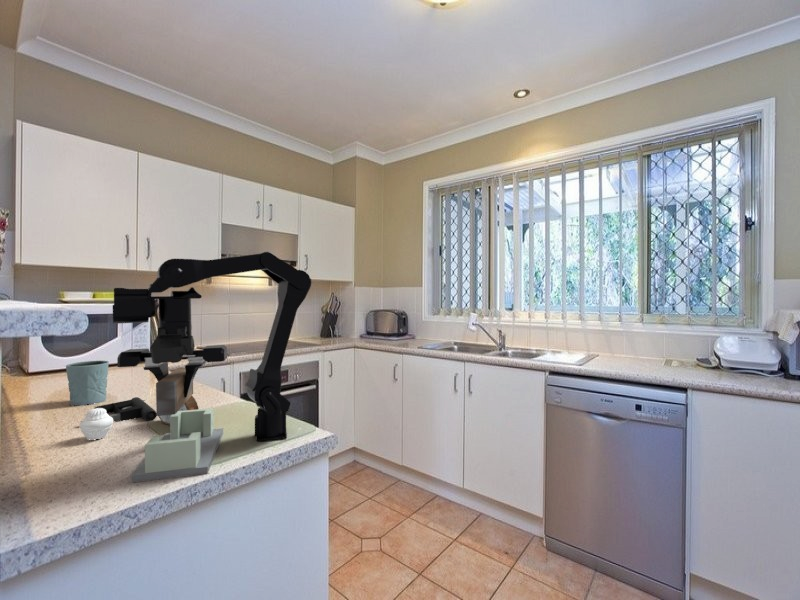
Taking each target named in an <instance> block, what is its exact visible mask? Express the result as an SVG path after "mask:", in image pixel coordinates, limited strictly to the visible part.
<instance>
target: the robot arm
mask: <svg viewBox="0 0 800 600" xmlns="http://www.w3.org/2000/svg"><path fill="white" fill-rule="evenodd" d="M255 271H261V272H263V273H264V274H265V275H266V276H268V277H269V278H270V279H271V280H272V281H273V282H274V283H276V284H277V285H278V288H277V301H278V304H277V305H278V306H277V309H276V313H275V316H274V319H273V323H272V326H271V330H270V333H269V337H268V340H267V343H266V347H265V350H264V353H263V357H262V358H261V359H262V360H261V362H260V364H259V366H258V367H257V369H253V368H249V369H250V370H249V374H248V379H247V382H246V383H245V384H244V386H245V387H247V388H246V393H247V397H248V398H249V399H250V400H252V401H253V402H254V403H255V405H256V406H257V414H256V415H255V416H254V436H255V437H256V442H263V441H272V440H282V439H287V436H288V435H287V434H288V433H287V412H289V410H290V406H291V402H290V400H288V399H287V398H286V397H284V395H282V394H281V390H282V365H283V362H284V361H283V360H284V358H285V354H286V350H287V346H288V343H289V340H290V336H291V333H292V329H293V326H294V322H295V319H296V316H297V311H298V309H299V308H300V306H301V305H302V304H303V302H304V301H305V300H306V298H307V295H308V294H309V291H310V290H311V288H312V279H311V276H310V274H308V272H306V271H305V270H303V269H297V268H296V267H294V265H291V264H290V263H288V262H286V261H284V260H282V259H281V258H279V257H277V256H276V255H275V254H274V253H272V252H270V251H264V252H260V253H256V254H255V253H254V254H246V255H240V256H230V257H223V258H215V259H193V258H170V259H168V260H166V261H164V262H162V264H161V265H159V267H158V269H157V272H156V274H157V275H156V276H157V278H156V279H155V280H154V281H153V283H150V284H149V285H148V288H125V287H114V288H113V304H112V323H113V324H114V325H116V324H117V325H118V324H139V323H149V318H150V319H151V318H155V317H156V300H158V327H157V332H156V333H157V335H156V338H155V339H154V340H153V342H152V343H151V345H150V348H135V349H134V348H131V349H127V350H125V351H121V352H120V353H119V354H118V356H117V365H116V366H117V368H132V367H133V368H135V367H137V366H138V365H139V364H140V363H144V367H143V368H142V369H143V370H144V371H149V372H150V373H151V374H153V375H154V377H155V379H156V380H157V382H159V381H160V380H161V379H163V378H164V377H166V376H167V375H168V374H170V372H169V363H172V364H176V363H177V364H178V363H179V362H181V361H182V360H187V361H188V363H186V364H185V365H184V368H185V370H186V375H185V385H184V397H187V396H188V394H189V391H190V388H191V385H192V382H193V383H194V379H195V377H196V375H197V372H198V370H199V368H200V367H203V366H204V365H205V364H206V363H219V362H225V361H226V359H228V347H227V346H226V345H225V344H221V345H220V344H217V345H206V346H204V347H203V349H195V339H194V336H193V335H192V333H193V332H192V331H193V326H192V299H198V300H199V299H201V298H202V295H201V294H200V293H199V292H197V291H196V289H195V288H194V287H193V286H191V287H189V288H188V290H172V291H171V292H170V296H167V295H166V296H165V295H164V296H163V295H162V296H159V295H158V296H152V294H157V293H158V294H161V293H163V292H165V291H168V289H178V288H181V287H184V286H189V285H192V284H195V283H197V282H201V281H203V280H207V279H210V278H215V277H220V276H222V277H223V276H228V275H235V274H242V273H247V272H248V273H249V272H255Z"/></svg>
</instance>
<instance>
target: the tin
mask: <svg viewBox="0 0 800 600" xmlns="http://www.w3.org/2000/svg"><path fill="white" fill-rule="evenodd" d="M197 409H199V405H198V402H197V400H196V398H195V397H194V396H193V395H192V396H191V397H190V398H189V399H188V400H187V401H186V402H185V404H184V405H183V406H182V407H181V408H180V409H179V410H178V411H184V410H197ZM170 417H171V415H163V416H158V418H159V420H160V421H161V422H162V424H166V425H169V426H170Z"/></svg>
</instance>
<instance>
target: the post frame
mask: <svg viewBox="0 0 800 600" xmlns="http://www.w3.org/2000/svg"><path fill="white" fill-rule="evenodd" d="M214 420H215V408H212V407H211V408H200V409H197V410H184V411H178V412H177V413H176V414H174V415H171V417H170V425H169V432H168V433H167V432H166V433H164V435H162V434H161V435H152V437H150V439H149V440H148V441H147V442H146V443H145V444H144V459H143V461H142V462H141V463H140V464H139V465H138V466H137V468H136V469H135V470H134V472H133V473H132V474H131V475H130V483H139V482H148V481H156V480H163V479H171V478H181V477H187V476H189V477H190V476H196V475H197V476H198V475H204V474H205V475H206V474H208V473H209V471H210V468H211V466H212V463H213V461H214V459H215V455H216V452H217V451H218V448H219V446H220V442H221V441H222V440H221V439H222V438H223V436H224V428H215V421H214Z"/></svg>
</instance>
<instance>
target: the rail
mask: <svg viewBox="0 0 800 600" xmlns="http://www.w3.org/2000/svg"><path fill="white" fill-rule="evenodd" d="M185 375H186V370H185V367H176V369H174V370H173V371H171V372H169V374H168V375H167V376H166V377H164V378H163V379H161V380H160V381H159V382H158V381H157V382H156V383H155V393H156V394H155V397H156V399H155V400H156V402H155V405H156V407H155V408H156V410H155V411H156V413H157V416H156V417H159V416H163V415H174V414H176V413H177V412H178V410H179V409H180V408H181V407H182V406H183V405H184V404H185V402H186V401H187V400H188V399H189V398H190V397H191V396H193V395H194V381H193V382H192V385H191V388H190V391H189V394H188V396H187V397H184V385H185Z"/></svg>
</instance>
